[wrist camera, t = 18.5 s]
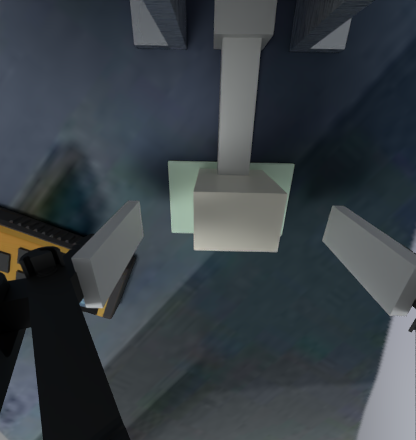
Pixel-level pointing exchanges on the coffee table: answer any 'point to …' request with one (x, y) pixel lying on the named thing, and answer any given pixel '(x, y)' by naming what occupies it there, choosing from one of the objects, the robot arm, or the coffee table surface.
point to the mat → (186, 179)
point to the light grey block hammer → (238, 141)
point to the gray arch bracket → (301, 32)
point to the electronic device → (40, 237)
